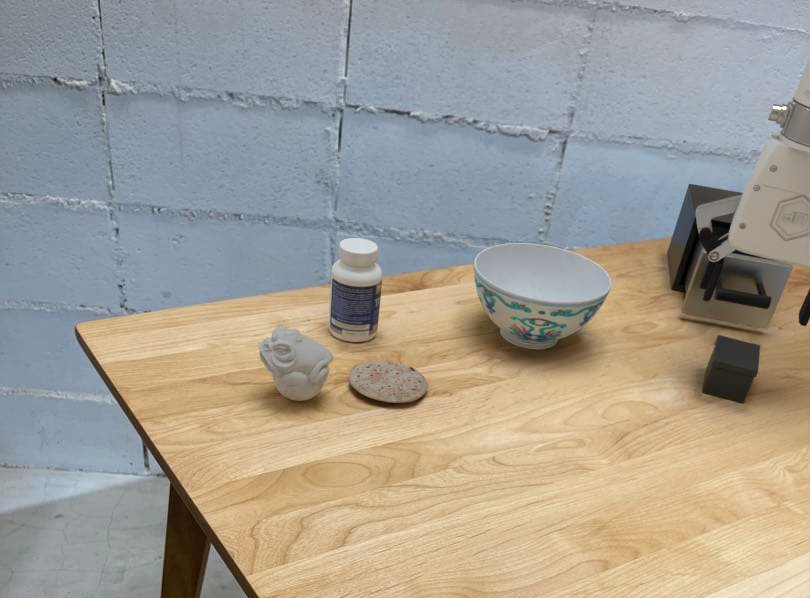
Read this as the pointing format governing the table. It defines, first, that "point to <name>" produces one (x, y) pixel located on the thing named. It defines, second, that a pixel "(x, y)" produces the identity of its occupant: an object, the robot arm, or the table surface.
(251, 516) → the table surface
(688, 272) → the drawer
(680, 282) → the cabinet
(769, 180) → the robot arm
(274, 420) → the table surface
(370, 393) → the flatbread
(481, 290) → the chinaware
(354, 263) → the pill bottle
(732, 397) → the dark grey block
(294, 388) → the frog figurine
